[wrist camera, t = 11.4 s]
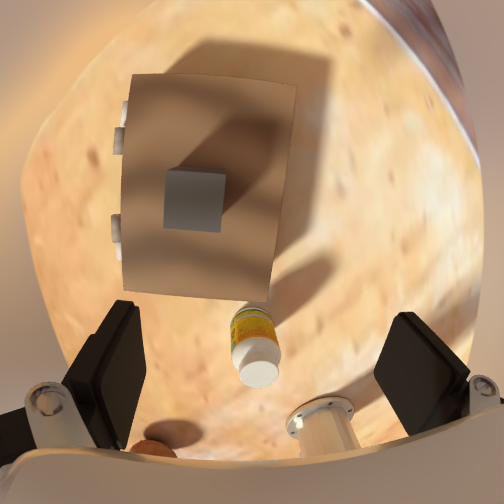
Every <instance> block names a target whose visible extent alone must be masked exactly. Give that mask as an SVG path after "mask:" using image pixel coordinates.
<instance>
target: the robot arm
mask: <svg viewBox="0 0 504 504" xmlns="http://www.w3.org/2000/svg"><path fill="white" fill-rule="evenodd" d="M469 373H470V370H469V369H468V368H467V366H466V365H465V364H464V363H463V362H462V361H461V360H460V359H459V358H458V357H457V356H456V355H455V354H454V353H453V351H452V350H451V349H450V348H449V347H448V346H447V345H446V344H445V343H444V342H443V341H442V340H441V339H440V338H439V337H438V336H437V335H436V334H435V333H434V332H433V331H432V330H431V329H430V328H429V327H428V326H427V325H426V324H425V323H424V322H423V321H422V320H421V319H420V318H419V317H418V316H417V315H416V314H415V313H414V312H400V313H399V314H398V315H397V316H396V317H395V318H394V320H393V322H392V325H391V328H390V331H389V333H388V336H387V339H386V341H385V344H384V346H383V349H382V351H381V354H380V356H379V359H378V361H377V363H376V366H375V368H374V377H375V379H376V380H377V382H378V384H379V385H380V387H381V389H382V391H383V392H384V394H385V396H386V397H387V399H388V401H389V402H390V404H391V406H392V408H393V409H394V411H395V413H396V415H397V416H398V418H399V420H400V422H401V423H402V425H403V427H404V429H405V430H406V432H407V434H408V435H409V437H405V438H402V439H398V440H395V441H391V442H387V443H383V444H379V445H375V446H370V447H366V448H361V447H360V444H359V442H358V440H357V437H356V435H355V432H354V430H353V428H352V425H351V423H350V421H351V419H352V418H353V415H354V407H353V405H352V403H351V402H350V401H349V400H347V399H345V398H341V397H326V398H321V399H318V400H314V401H312V402H309V403H307V404H305V405H303V406H301V407H300V408H298V409H297V410H296V411H294V412H293V413H292V414H291V415H290V417H289V418H288V420H287V422H286V428H287V432H288V434H289V435H290V436H291V437H293V438H295V439H298V440H299V444H300V448H301V452H300V457H301V458H293V459H281V460H263V461H214V460H195V459H181V458H170V457H161V456H153V455H146V454H139V453H131V452H124V451H120V449H123V450H125V448H126V446H127V442H128V438H129V434H130V430H131V426H132V422H133V419H134V415H135V411H136V408H137V404H138V400H139V397H140V393H141V390H142V386H143V383H144V380H145V376H146V362H145V355H144V347H143V339H142V330H141V320H140V310H139V307H138V306H134V303H133V302H132V301H124V300H116V302H115V303H114V305H113V306H112V308H111V309H110V311H109V312H108V314H107V315H106V317H105V318H104V320H103V322H102V323H101V325H100V326H99V328H98V330H97V331H96V333H95V334H91V335H90V336H89V337H88V339H87V340H86V342H85V344H84V345H83V347H82V348H81V350H80V352H79V353H78V355H77V357H76V358H75V360H74V362H73V363H72V365H71V367H70V368H69V370H68V372H67V374H66V375H65V377H64V379H63V381H62V382H61V384H59V383H56V382H42V383H40V384H37V385H35V386H34V387H33V388H31V389H30V390H29V392H28V393H27V394H26V397H25V407H23V408H21V409H17V410H14V411H11V412H8V413H5V414H2V415H0V504H504V399H503V398H501V397H500V394H499V389H498V387H497V385H496V384H495V382H493V381H492V380H491V379H490V378H488V377H486V376H483V375H474V376H472V377H471V379H470V380H469V382H467V381H466V379H467V377H468V375H469Z"/></svg>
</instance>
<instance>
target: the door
mask: <svg viewBox="0 0 504 504" xmlns="http://www.w3.org/2000/svg"><path fill="white" fill-rule="evenodd" d="M296 90H297V86H294V85H288V84H283V83H277V82H270V81H263V80H256V79H248V78H239V77H229V76H217V75H201V74H132V79H131V85H130V92H129V99H128V106H127V115H126V123H125V127H117V128H115V134H114V146H113V154H114V155H123V158H122V176H121V214H114V215H111V232H112V242H115V243H120V242H121V255H122V273H123V287H124V291H133V292H142V293H151V294H161V295H172V296H183V297H194V298H207V299H220V300H235V301H251V302H267V297H268V291H269V285H270V278H271V272H272V265H273V259H274V252H275V246H276V239H277V232H278V226H279V219H280V212H281V205H282V198H283V191H284V184H285V176H286V169H287V161H288V154H289V146H290V139H291V131H292V123H293V115H294V107H295V98H296Z"/></svg>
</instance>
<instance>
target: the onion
mask: <svg viewBox="0 0 504 504" xmlns="http://www.w3.org/2000/svg"><path fill="white" fill-rule="evenodd" d="M129 452H131V453H139V454H146V455H153V456H161V457H170V458H177V456H176V454H175V452H174V451H172V450H171V449H170V448H169V447H167V446H166V445H164V444H163V443H161V442H160V441H156V440H143V441H142V440H141V441H140V442H138V443H136V444H135V445H133V446H132V448H131V449H130V451H129Z"/></svg>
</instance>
